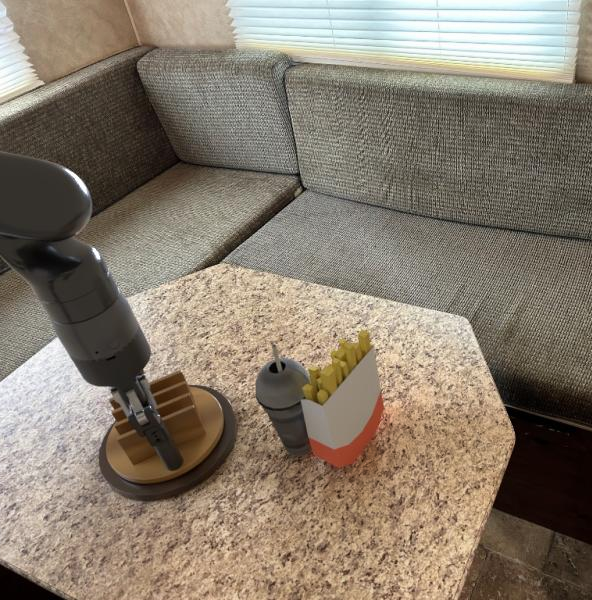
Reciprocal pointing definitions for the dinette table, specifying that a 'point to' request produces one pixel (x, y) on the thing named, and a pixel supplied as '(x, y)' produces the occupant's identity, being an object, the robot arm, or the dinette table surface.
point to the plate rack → (179, 427)
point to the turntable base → (185, 480)
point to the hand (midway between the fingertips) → (156, 433)
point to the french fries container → (343, 403)
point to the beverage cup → (285, 401)
